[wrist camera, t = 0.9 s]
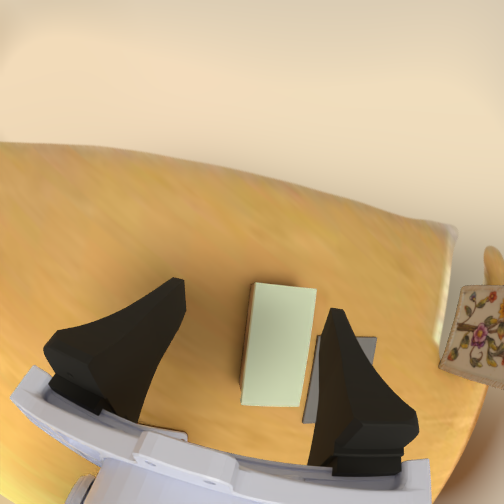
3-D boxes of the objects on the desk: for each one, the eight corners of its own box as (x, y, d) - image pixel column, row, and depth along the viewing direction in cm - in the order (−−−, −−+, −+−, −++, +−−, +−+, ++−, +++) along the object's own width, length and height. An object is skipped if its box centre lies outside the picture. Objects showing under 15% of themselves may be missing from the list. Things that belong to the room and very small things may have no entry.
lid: (294, 400, 24) (298, 406, 22) (239, 398, 23) (241, 404, 22) (310, 288, 25) (316, 289, 23) (253, 282, 24) (256, 282, 23)
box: (284, 385, 27) (294, 400, 23) (239, 382, 27) (242, 398, 23) (297, 288, 28) (310, 290, 24) (250, 283, 28) (256, 284, 24)
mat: (358, 418, 28) (359, 419, 27) (302, 421, 27) (303, 423, 27) (375, 337, 29) (377, 337, 28) (317, 335, 28) (318, 336, 28)
